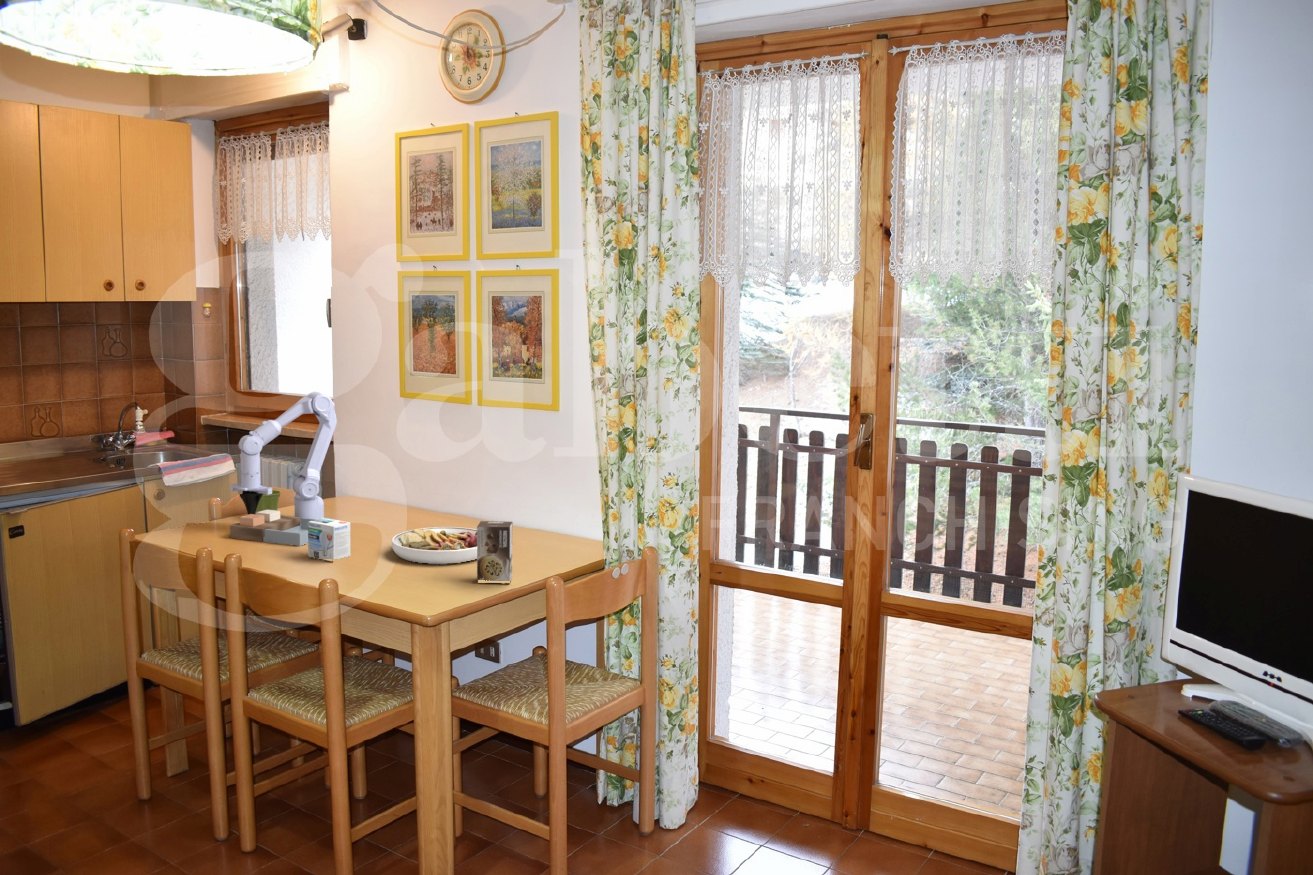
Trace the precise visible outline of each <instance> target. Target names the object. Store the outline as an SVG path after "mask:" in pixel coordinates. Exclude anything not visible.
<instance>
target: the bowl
mask: <svg viewBox="0 0 1313 875" xmlns="http://www.w3.org/2000/svg"><path fill="white" fill-rule="evenodd" d="M391 547H392V550H393V552H394V553H395V554H396V556H398V557H399V558H401V559H403V560H405V561H409V562H411V561H412V563H415V562H418V563H417V564H422V563H428V564H427V565H439V564H440V565H448V564H447V563H458V562H465V561H470V560H474V559H477V528H469V527H459V526H458V527H457V526H435V527H434V526H433V527H421V528H419V527H418V528H414V529H410V530H406V531H405V530H404V531H403V532H400V533H397V534H395V535H394V536H393V537H392V538H391ZM474 561H475V560H474ZM470 562H471V561H470ZM465 563H466V562H465ZM458 564H459V563H458Z"/></svg>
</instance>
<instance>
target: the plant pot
mask: <svg viewBox="0 0 1313 875" xmlns="http://www.w3.org/2000/svg"><path fill="white" fill-rule="evenodd" d="M281 494H282V491H281V490H278V489H277V490H276V489H275V490H274V489H272V494H269V495H266V494H263V495H262V497H261V499H260V501H259V503H258V506H257V510H256V512H260V511H264V510H276V511H278V507H279V501H280V497H281Z"/></svg>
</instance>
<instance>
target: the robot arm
mask: <svg viewBox="0 0 1313 875" xmlns="http://www.w3.org/2000/svg"><path fill="white" fill-rule="evenodd" d="M335 406H336V404H335V402H334V401H333V400H332V398H331V397H330V396H329V395H328V394H324V393H320V392H319V391H311V392H310V393H308V394H307V395H306V396H303V397H302V398H301V399H299V400H298V401H297V402H296V403H294V404H293V405H292V406H290V407H289V408H288V409H287V410H285V411H284V412H283V413H282V414H280V415H279V416H278V417H277V418H275V419H268V420H263V421H262V422H261V425H260V426H258V427H256V428H255V429H254V430H251V431H249V432H248V433H249V434H246V435H244V436H242V437H241V438H240V440H239V442H238V444H237V446H238V449H239V450H240V478H241V480H240V481H241V483H238V484H237V483H233V484H230V485H229V486H230V491H233V492H234V491H235V492H241V493H239V497H240V499H241V500H242V501H243V504H244V506H245V510H246V513H247V515H249V514H255V515H257V514H256V510H257V506H258V503H259V501H260V499H261V497H262V495H263V494H266V495H269V494H272V490H273V487H269V486H264V485H261V484H262V483H261V480H262V479H261V476H262V475H261V456H260V455H261V454H260V452H262V450H263V447H264V446H266V445H267V444H268V443H270V442H271V441H273V440H274V439H276V438H277V437H278V436H280V435H281V433H282V428H284V427H286V426H287V425H289V424H290V423H291V422H293V421H294V420H295V419H296V420H297V418H299V417H300V416H302V415H306V414H314V415H315V417H316V418H317V420H318V422H319V424H318V427H317V430H316V433H315V435H314V437H313V441H312V444H311V446H310V450H309V452H308V455H307V456H306V457H307V458H306V461H305V463H304V466H303V467H302V469H301V470H299V474H298V475H297V477H296V478H294V480H293V482H292V491H293V492H295V494H294V496H293V497H294V499H293V500H294V503H293V504H294V506H293V507H294V517H300V525H301V518H309V519H322V518H325V502H324V500H323V498H322V497H320V496H319V495H318V494H319V492H320V481H321V477H320V476H321V474H320V472H321V470H322V469H321V468H322V466H323V464H324V461H325V458H326V455H327V452H328V449H329V446H330V445H331V441H332V439H333V437H334V436H333V435H334V433H335V430H336V428H337V424H338V418H337V415H336V410H335V409H336V408H335Z"/></svg>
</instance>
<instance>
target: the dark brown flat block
mask: <svg viewBox="0 0 1313 875" xmlns="http://www.w3.org/2000/svg"><path fill="white" fill-rule="evenodd" d="M297 526H300V517H295V516H291V515H284V514H283V515H281V514H280V519H277V520H274V521H271V522H268V521H264V524H261V525H257V526H254V527H252V526H244V525H240V521H239V522H236V523H232V524H230V525H229V538H230V539H237V540H238V539H239V540H245V541H255V542H261V543H262V542H263V537H265V529H270V530H279V531H284V530H287V529H290V528H294V527H297ZM263 543H264V542H263Z"/></svg>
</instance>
